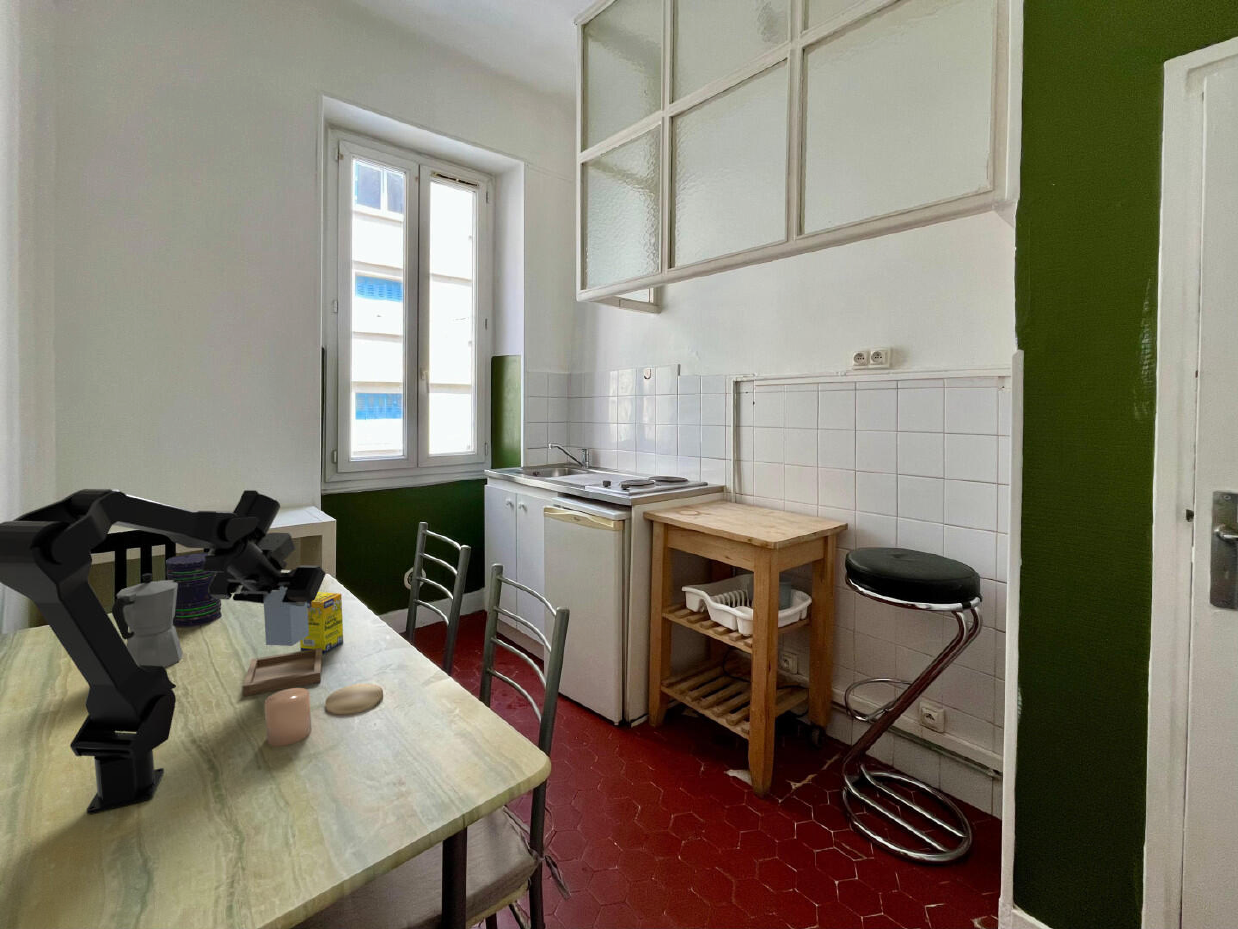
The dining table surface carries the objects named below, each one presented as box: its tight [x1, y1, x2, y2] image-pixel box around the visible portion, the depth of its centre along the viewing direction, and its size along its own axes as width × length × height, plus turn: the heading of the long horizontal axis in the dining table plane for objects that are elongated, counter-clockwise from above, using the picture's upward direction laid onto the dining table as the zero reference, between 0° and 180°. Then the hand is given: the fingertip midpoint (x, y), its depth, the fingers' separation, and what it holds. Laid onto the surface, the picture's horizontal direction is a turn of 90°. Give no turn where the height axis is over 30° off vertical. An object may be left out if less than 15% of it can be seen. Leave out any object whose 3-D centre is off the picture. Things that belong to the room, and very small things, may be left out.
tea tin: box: [263, 569, 309, 647], centre depth 107 cm, size 5×5×13 cm
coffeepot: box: [111, 572, 184, 669], centre depth 111 cm, size 15×9×18 cm, turn 6°
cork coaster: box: [325, 683, 384, 716], centre depth 99 cm, size 9×9×1 cm
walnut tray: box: [242, 648, 323, 697], centre depth 108 cm, size 12×12×2 cm
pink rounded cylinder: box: [263, 687, 312, 747], centre depth 89 cm, size 6×6×6 cm
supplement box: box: [299, 591, 344, 655], centre depth 120 cm, size 6×6×11 cm
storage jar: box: [165, 552, 223, 628], centre depth 135 cm, size 10×10×15 cm
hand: (290, 603), depth 109 cm, fingers closed on tea tin, 5 cm apart
